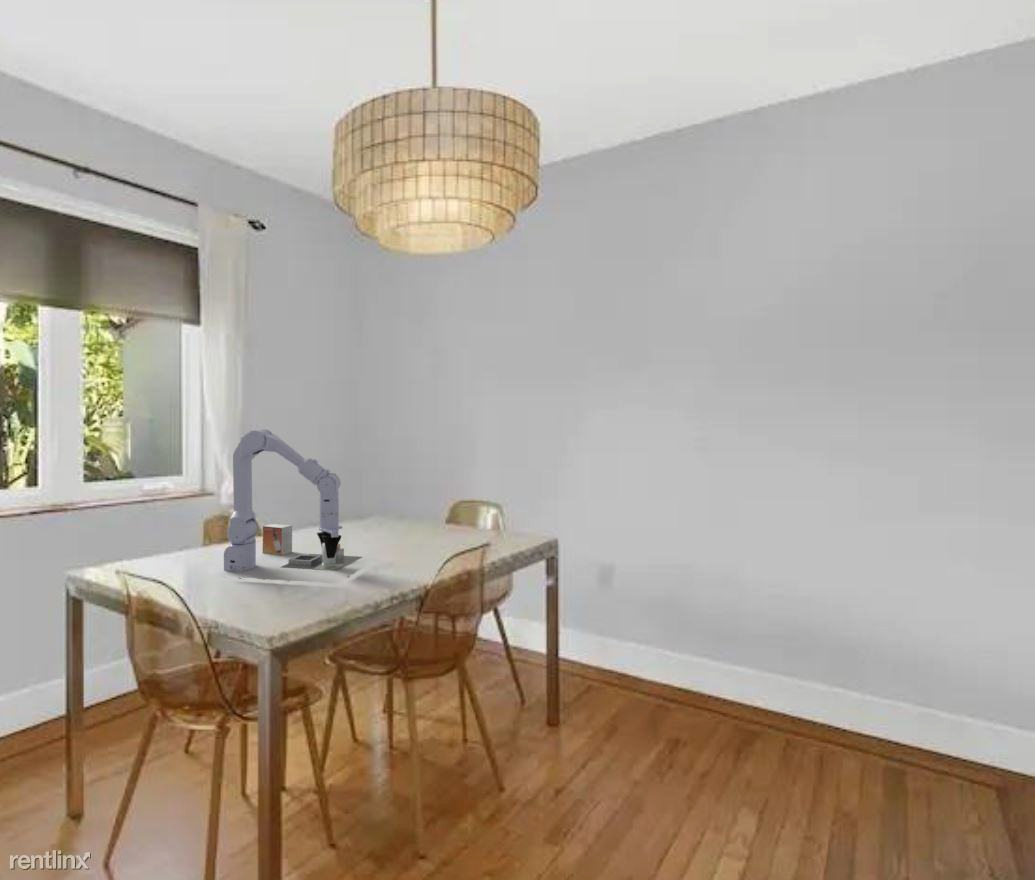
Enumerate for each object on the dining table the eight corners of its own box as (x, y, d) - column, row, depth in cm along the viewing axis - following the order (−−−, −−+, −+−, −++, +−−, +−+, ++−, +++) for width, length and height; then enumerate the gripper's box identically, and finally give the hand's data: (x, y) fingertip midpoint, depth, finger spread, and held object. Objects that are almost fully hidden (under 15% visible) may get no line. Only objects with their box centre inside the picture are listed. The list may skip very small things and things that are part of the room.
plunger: (337, 558, 209) (337, 546, 209) (326, 558, 210) (326, 545, 209) (342, 556, 213) (342, 543, 212) (331, 555, 213) (331, 543, 213)
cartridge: (336, 564, 200) (336, 541, 199) (323, 565, 198) (323, 542, 198) (334, 561, 203) (334, 539, 203) (321, 562, 202) (321, 540, 201)
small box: (262, 556, 218) (262, 525, 218) (273, 553, 224) (273, 523, 223) (281, 558, 216) (281, 527, 215) (292, 555, 221) (292, 524, 221)
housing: (337, 574, 197) (337, 560, 196) (280, 571, 200) (280, 557, 200) (362, 560, 215) (362, 547, 215) (309, 557, 218) (309, 544, 218)
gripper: (348, 515, 196) (348, 559, 196) (335, 508, 208) (335, 550, 209) (324, 517, 192) (324, 562, 193) (313, 510, 205) (313, 552, 205)
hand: (329, 556), depth 201 cm, fingers closed on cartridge, 4 cm apart
